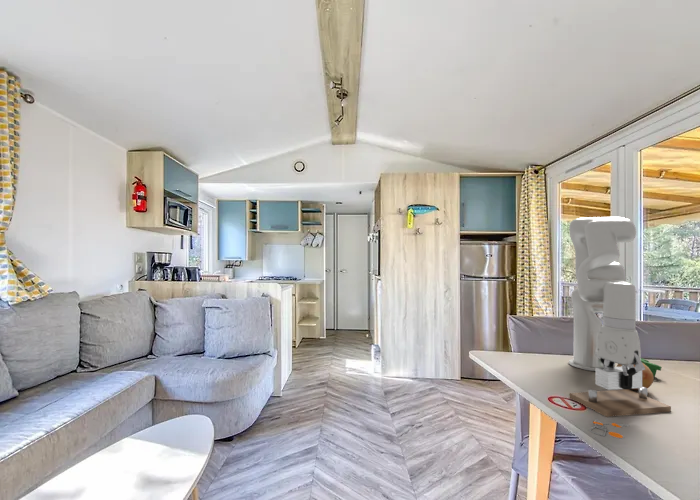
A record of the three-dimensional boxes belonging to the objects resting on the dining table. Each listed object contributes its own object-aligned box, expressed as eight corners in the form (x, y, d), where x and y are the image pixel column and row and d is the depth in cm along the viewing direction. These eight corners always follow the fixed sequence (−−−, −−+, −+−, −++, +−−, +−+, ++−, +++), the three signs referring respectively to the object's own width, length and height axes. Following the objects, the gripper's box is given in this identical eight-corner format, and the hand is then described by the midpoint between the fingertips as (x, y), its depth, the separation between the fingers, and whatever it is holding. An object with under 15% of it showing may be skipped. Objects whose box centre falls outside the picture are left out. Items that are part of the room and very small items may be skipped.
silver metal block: (595, 384, 98) (595, 367, 99) (628, 382, 101) (628, 366, 101) (608, 389, 94) (608, 372, 95) (642, 387, 97) (642, 370, 97)
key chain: (620, 443, 77) (620, 440, 77) (583, 430, 83) (583, 427, 83) (632, 427, 85) (632, 423, 85) (598, 416, 91) (598, 413, 91)
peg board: (628, 393, 106) (628, 379, 106) (670, 411, 94) (670, 395, 94) (569, 397, 101) (569, 383, 102) (606, 416, 90) (606, 400, 90)
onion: (661, 394, 106) (661, 363, 106) (638, 396, 104) (638, 364, 104) (629, 382, 116) (629, 354, 116) (607, 384, 113) (607, 355, 113)
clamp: (652, 389, 121) (666, 371, 118) (634, 383, 123) (647, 365, 119) (637, 367, 132) (649, 350, 128) (620, 362, 133) (632, 345, 129)
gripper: (583, 318, 106) (583, 375, 105) (637, 329, 89) (637, 397, 89) (603, 318, 107) (602, 374, 106) (660, 329, 90) (660, 396, 90)
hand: (618, 384), depth 98 cm, fingers closed on silver metal block, 4 cm apart
